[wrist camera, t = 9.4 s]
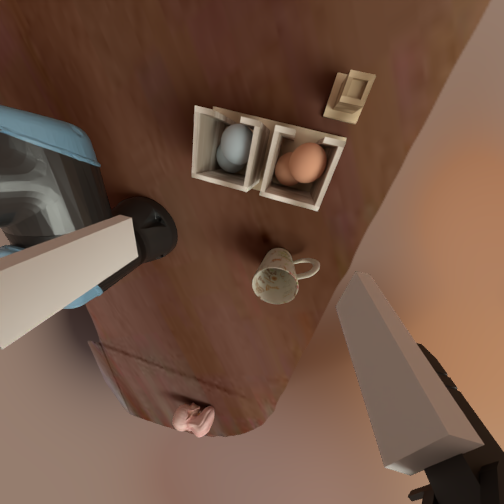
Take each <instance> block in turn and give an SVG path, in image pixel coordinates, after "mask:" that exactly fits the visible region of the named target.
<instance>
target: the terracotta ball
mask: <svg viewBox="0 0 504 504" xmlns="http://www.w3.org/2000/svg"><path fill="white" fill-rule="evenodd" d="M326 165H327V156H326V153H325V151H324V149H323V148H322V147H321V146H320V145H318V144H316V143H305V144H302V145H300V146H299V147H297V148H296V149H295V150H294V152H293V153H292V155H291V157H290V160H289V171H290V174H291V176H292V177H293V178H294V179H295V180H296V181H298V182H300V183H310V182H313V181H315V180H317V179H318V178H319V177H320V176H321V175H322V174H323V172H324V171H325V168H326Z"/></svg>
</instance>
